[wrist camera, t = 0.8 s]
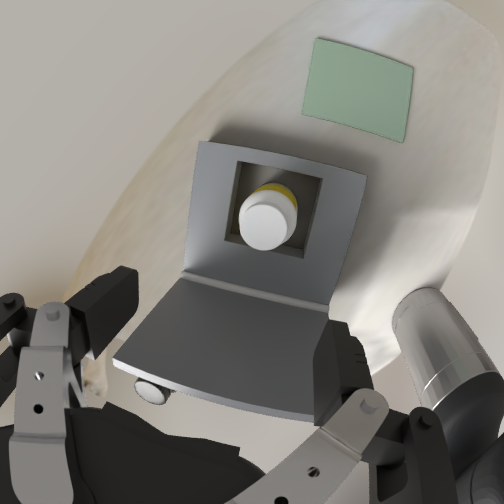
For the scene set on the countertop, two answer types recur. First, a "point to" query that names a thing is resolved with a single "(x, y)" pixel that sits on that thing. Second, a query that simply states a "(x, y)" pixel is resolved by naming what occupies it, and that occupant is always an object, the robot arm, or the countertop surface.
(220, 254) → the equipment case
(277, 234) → the supplement bottle
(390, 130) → the mat
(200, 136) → the countertop surface
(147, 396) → the supplement bottle
